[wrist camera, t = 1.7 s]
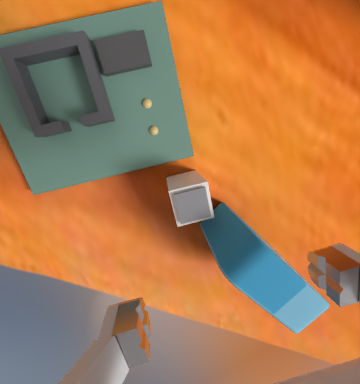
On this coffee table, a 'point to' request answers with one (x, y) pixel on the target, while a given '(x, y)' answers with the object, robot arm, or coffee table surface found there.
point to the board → (92, 97)
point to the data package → (261, 271)
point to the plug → (190, 198)
